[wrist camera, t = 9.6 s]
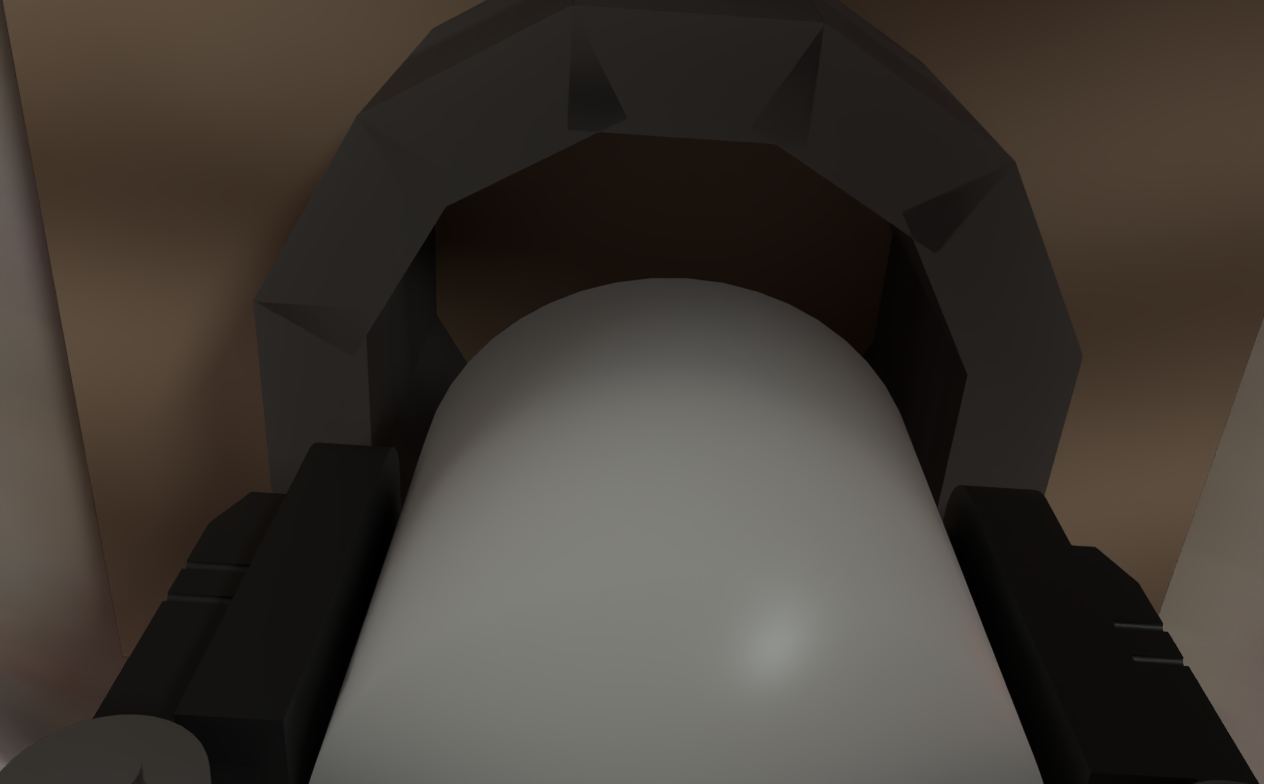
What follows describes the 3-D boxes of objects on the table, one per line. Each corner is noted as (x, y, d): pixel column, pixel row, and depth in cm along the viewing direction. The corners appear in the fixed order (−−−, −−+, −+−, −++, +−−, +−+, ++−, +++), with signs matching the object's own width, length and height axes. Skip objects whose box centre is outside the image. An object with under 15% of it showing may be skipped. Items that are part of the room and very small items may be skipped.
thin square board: (-11, -414, 14) (-392, -522, 9) (1411, -306, 15) (1833, -351, 10) (154, 603, 22) (-4, 866, 17) (1094, 661, 22) (1231, 937, 17)
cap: (411, 260, 11) (267, 554, 7) (960, 295, 11) (1144, 606, 7) (424, 681, 13) (323, 1086, 9) (872, 707, 13) (970, 1119, 9)
